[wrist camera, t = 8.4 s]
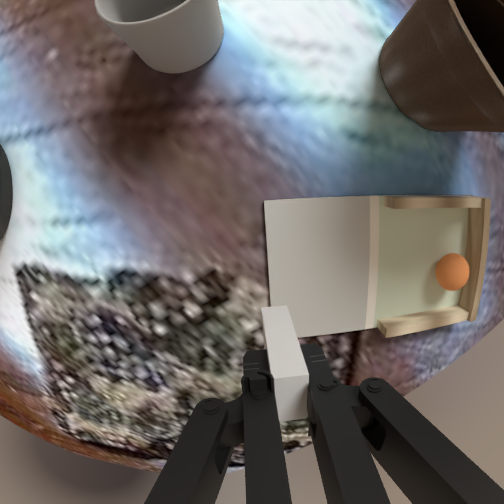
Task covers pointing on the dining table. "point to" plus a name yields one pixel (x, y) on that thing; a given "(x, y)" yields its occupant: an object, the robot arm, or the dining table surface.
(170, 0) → the mug
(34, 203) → the dining table surface
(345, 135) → the dining table surface
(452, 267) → the ball
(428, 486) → the robot arm
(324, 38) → the dining table surface
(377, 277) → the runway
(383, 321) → the fence
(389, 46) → the plant pot
